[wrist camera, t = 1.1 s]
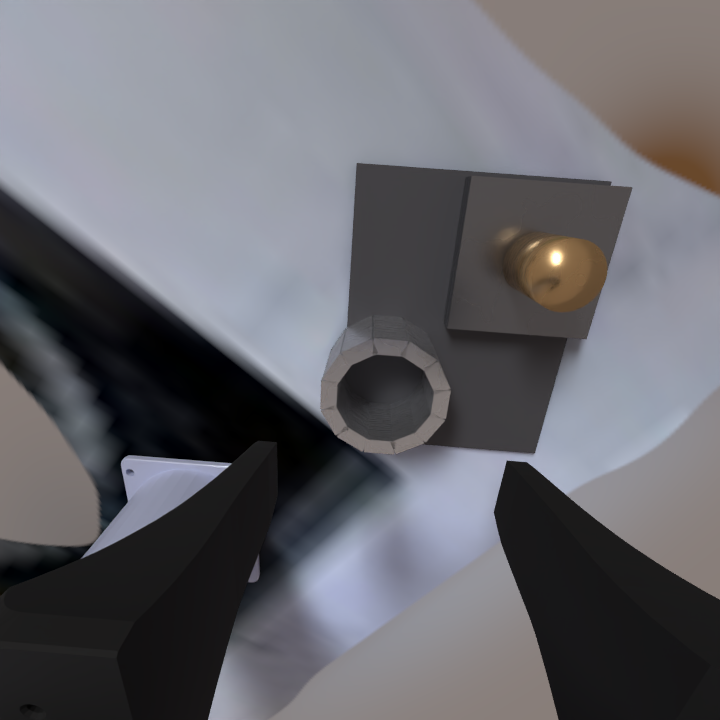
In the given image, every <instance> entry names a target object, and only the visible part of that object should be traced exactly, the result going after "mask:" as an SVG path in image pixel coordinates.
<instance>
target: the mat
mask: <svg viewBox="0 0 720 720" xmlns="http://www.w3.org/2000/svg"><path fill="white" fill-rule="evenodd" d="M469 176H483V177H497V178H511V179H524V180H538V181H552V182H566V183H580V184H593V185H607V186H610V185H611V182H610V181H596V180H582V179H568V178H554V177H541V176H527V175H513V174H499V173H485V172H472V171H458V170H444V169H430V168H416V167H403V166H389V165H375V164H361V163H357V169H356V186H355V203H354V220H353V238H352V255H351V272H350V289H349V306H348V323H347V327H348V326H351V325H353V324H355V323H357V322H359V321H361V320H364V319H366V318H368V317H370V316H373V318H374V315H379V316H392V317H402V318H403V319H404V318H405V319H406V320H408V321H409V322H411V323H412V324H414V325H415V326H417V327H418V328H420V329H421V330H423V331H424V332H426V333H427V335H428V336H429V339H430V341H431V343H432V345H433V347H434V350H435V352H436V354H437V356H438V359H439V361H440V364H441V366H442V369H443V371H444V374H445V376H446V379H447V381H448V383H449V386H450V388H451V389H450V390H451V393H450V398H449V404H448V410H447V416H446V419H445V421H444V422H443V424H442V425H441V426H440V427H439V428H438V429H437V430H436V431H435V433H434V434H433V435H432V436H431V437H430V438H429V439H428V440H427V442H424V444H426V445H439V446H452V447H464V448H477V449H490V450H502V451H515V452H528V453H535V450H536V447H537V443H538V440H539V436H540V433H541V429H542V425H543V422H544V418H545V415H546V411H547V408H548V404H549V401H550V397H551V394H552V390H553V387H554V383H555V379H556V376H557V372H558V369H559V365H560V362H561V358H562V355H563V351H564V348H565V344H566V341H567V338H564V337H551V336H538V335H525V334H512V333H499V332H486V331H473V330H460V329H447V327H446V325H445V324H444V322H443V320H444V313H445V307H446V300H447V294H448V287H449V281H450V274H451V268H452V261H453V255H454V248H455V242H456V235H457V229H458V223H459V216H460V210H461V203H462V197H463V190H464V184H465V177H469ZM422 375H423V370H422V369H421V368H419V367H418V366H416V365H415V364H413V363H412V362H410V361H409V360H407V359H406V358H404V357H402V356H389V355H373V356H371V357H369V358H367V359H364V360H362V361H360V362H358V363H355V364H353V365H351V367H350V368H349V369H348V371H347V372H346V374H345V375H344V378H345V380H346V382H347V383H348V385H349V387H350V389H351V391H352V392H353V393H355V394H357V395H358V396H360V397H361V398H363V399H365V400H366V401H368V402H371V403H384V404H391V403H394V402H396V401H398V400H401V399H403V398H406V397H408V396H410V394H411V393H412V392H413V391H414V389H415V388H416V387H417V386H418V385H419V383H420V382H421V381H422Z"/></svg>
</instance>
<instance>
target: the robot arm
mask: <svg viewBox="0 0 720 720" xmlns="http://www.w3.org/2000/svg"><path fill="white" fill-rule="evenodd" d="M121 467H122V472H123V477H124V482H125V487H126V493H127V498H128V503H127V504H126V505H125V506H124V508H123V509H122V510H121V511H120V513H119V514H118V515H117V516H116V517H115V519H114V520H113V521H112V522H111V523H110V525H109V526H108V527H107V528H106V529H105V531H104V532H103V533H102V534H101V535H100V537H99V538H98V539H97V540H96V541H95V543H94V544H93V545H92V546H91V548H90V549H89V550H88V551H87V552H86V554H85V555H84V556H83V557H82V558H81V559H79V560H77V561H75V562H73V563H70V564H68V565H66V566H63V567H61V568H58V569H56V570H53V571H51V572H48V573H46V574H43V575H41V576H38V577H36V578H33V579H31V580H28V581H26V582H23V583H20V584H18V585H15V586H12V587H10V588H9V589H8V590H7V591H6V592H4V593H3V594H2V595H1V596H0V720H208V717H209V713H210V709H211V705H212V701H213V697H214V694H215V690H216V686H217V682H218V679H219V675H220V671H221V668H222V664H223V660H224V657H225V653H226V649H227V646H228V642H229V639H230V635H231V632H232V628H233V625H234V621H235V618H236V614H237V611H238V608H239V605H240V602H241V599H242V596H243V593H244V591H245V588H246V586H247V583H248V582H256V581H257V580H258V578H259V575H260V565H259V552H260V550H261V547H262V544H263V542H264V539H265V537H266V534H267V531H268V529H269V526H270V523H271V519H272V515H273V511H274V507H275V503H276V499H277V495H278V489H277V442H264V441H257V442H256V443H254V444H253V445H252V446H251V447H250V448H249V449H248V450H246V451H245V452H244V453H243V454H242V455H241V456H240V457H239V458H238V459H236V460H235V461H234V462H233V463H220V462H208V461H195V460H183V459H170V458H158V457H145V456H133V455H130V456H126V457H125V458H124V459H123V460H122V462H121ZM130 469H131V470H133V471H134V472H132V471H131V470H130ZM494 515H495V519H496V524H497V528H498V532H499V536H500V540H501V544H502V546H503V549H504V552H505V554H506V557H507V560H508V563H509V565H510V568H511V570H512V573H513V576H514V578H515V581H516V583H517V586H518V589H519V591H520V594H521V596H522V599H523V601H524V604H525V606H526V609H527V612H528V614H529V617H530V620H531V623H532V626H533V628H534V631H535V634H536V638H537V641H538V645H539V648H540V652H541V655H542V659H543V662H544V666H545V669H546V673H547V677H548V680H549V684H550V688H551V692H552V696H553V700H554V704H555V707H556V711H557V715H558V719H559V720H720V600H719V599H717V598H716V597H714V596H712V595H710V594H708V593H706V592H705V591H703V590H701V589H699V588H698V587H696V586H694V585H693V584H691V583H689V582H687V581H686V580H684V579H682V578H681V577H679V576H677V575H676V574H674V573H672V572H671V571H669V570H668V569H666V568H664V567H663V566H661V565H660V564H658V563H656V562H655V561H653V560H652V559H650V558H649V557H647V556H646V555H644V554H643V553H641V552H640V551H638V550H637V549H635V548H634V547H632V546H631V545H629V544H628V543H627V542H625V541H624V540H622V539H621V538H619V537H618V536H617V535H615V534H614V533H613V532H612V531H610V530H609V529H608V528H606V527H605V526H603V525H602V524H601V523H600V522H598V521H597V520H596V519H595V518H593V517H592V516H591V515H589V514H588V513H587V512H586V511H584V510H583V509H582V508H581V507H580V506H578V505H577V504H576V503H575V502H574V501H572V500H571V499H570V498H569V497H568V496H566V495H565V494H564V493H563V492H562V491H561V490H559V489H558V488H557V487H556V486H555V485H554V484H552V483H551V482H550V481H549V480H548V479H547V478H545V477H544V476H543V475H542V474H541V473H539V472H538V471H537V470H536V469H535V468H533V467H532V466H531V465H529V464H528V463H527V462H516V461H507V462H506V466H505V470H504V474H503V478H502V482H501V486H500V490H499V494H498V498H497V502H496V506H495V510H494Z"/></svg>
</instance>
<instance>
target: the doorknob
mask: <svg viewBox="0 0 720 720" xmlns="http://www.w3.org/2000/svg"><path fill="white" fill-rule="evenodd" d="M631 190H632V187H621V186H607V185H593V184H580V183H566V182H552V181H538V180H524V179H511V178H497V177H483V176H469V177H465V184H464V190H463V197H462V203H461V210H460V216H459V223H458V229H457V235H456V242H455V248H454V255H453V261H452V268H451V274H450V281H449V287H448V294H447V300H446V307H445V313H444V320H443V322H444V324H445V325H446V327H447V329H460V330H473V331H486V332H499V333H512V334H525V335H538V336H551V337H564V338H578V339H587V336H588V332H589V329H590V326H591V323H592V319H593V316H594V313H595V309H596V306H597V303H598V299H599V296H600V293H601V289H602V287H603V285H604V283H605V280H606V276H607V270H608V266H609V263H610V260H611V256H612V253H613V250H614V247H615V243H616V240H617V237H618V233H619V230H620V227H621V223H622V220H623V217H624V214H625V210H626V207H627V204H628V200H629V197H630V194H631Z"/></svg>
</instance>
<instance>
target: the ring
mask: <svg viewBox="0 0 720 720" xmlns="http://www.w3.org/2000/svg"><path fill="white" fill-rule="evenodd" d="M373 355H389V356H402V357H404V358H406V359H407V360H409V361H410V362H412V363H413V364H415V365H416V366H418V367H419V368H421V369H422V370H423V375H422V381H421V382H420V383H419V385H418V386H417V387H416V388H415V389H414V391H413V392H412V393H411V394H410V396H408V397H406V398H403V399H401V400H398V401H396V402H394V403H391V404H384V403H371V402H368V401H366V400H365V399H363V398H361V397H360V396H358V395H357V394H355V393H353V392H352V391H351V389H350V387H349V385H348V383H347V382H346V380H345V378H344V375H345V374H346V372H347V371H348V369H349V368H350V367H351V365H353V364H355V363H358V362H360V361H362V360H364V359H367V358H369V357H371V356H373ZM450 389H451V388H450V386H449V383H448V381H447V379H446V376H445V374H444V371H443V369H442V366H441V364H440V361H439V359H438V356H437V354H436V352H435V350H434V347H433V345H432V343H431V341H430V339H429V336H428V335H427V333H426V332H424V331H423V330H421V329H420V328H418V327H417V326H415V325H414V324H412V323H411V322H409V321H408V320H406V319H405V318H404V319H403V318H402V317H392V316H379V315H374V318H373V316H370V317H368V318H366V319H364V320H361V321H359V322H357V323H355V324H353V325H351V326H348V327H347V329H345V330H344V332H343V333H342V334H341V336H340V337H339V339H338V340H337V342H336V343H335V345H334V346H333V347H332V349H331V351H330V354H329V358H328V361H327V364H326V367H325V371H324V374H323V377H322V380H321V412H322V413H323V415H324V417H325V419H326V420H327V422H328V424H329V425H330V427H331V429H332V430H333V432H334V434H335V435H337V437H338V438H340V439H342V440H343V441H345V442H347V443H348V444H350V445H352V446H354V447H355V448H357V449H359V450H360V451H363V450H364V452H369V453H382V454H394V451H395V453H396V454H398V453H401V452H403V451H406V450H408V449H411V448H414V447H416V446H419V445H422V444H424V442H427V440H428V439H429V438H430V437H431V436H432V435H433V434H434V433H435V431H436V430H437V429H438V428H439V427H440V426H441V425H442V424H443V422H444V421H445V419H446V416H447V410H448V404H449V398H450V393H451V390H450Z"/></svg>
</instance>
